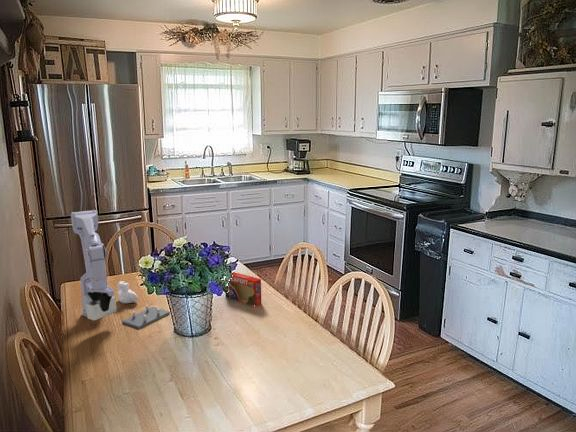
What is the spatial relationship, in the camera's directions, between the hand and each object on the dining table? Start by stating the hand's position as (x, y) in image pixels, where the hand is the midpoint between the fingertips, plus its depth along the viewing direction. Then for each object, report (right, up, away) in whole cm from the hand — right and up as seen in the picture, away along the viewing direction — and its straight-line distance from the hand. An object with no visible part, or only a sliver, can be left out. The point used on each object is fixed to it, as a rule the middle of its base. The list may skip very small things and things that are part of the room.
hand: (102, 309), depth 174 cm
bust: (0, -3, +27) cm, 27 cm away
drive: (0, -2, 0) cm, 2 cm away
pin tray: (+14, -6, +10) cm, 18 cm away
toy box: (+52, -2, +28) cm, 59 cm away
